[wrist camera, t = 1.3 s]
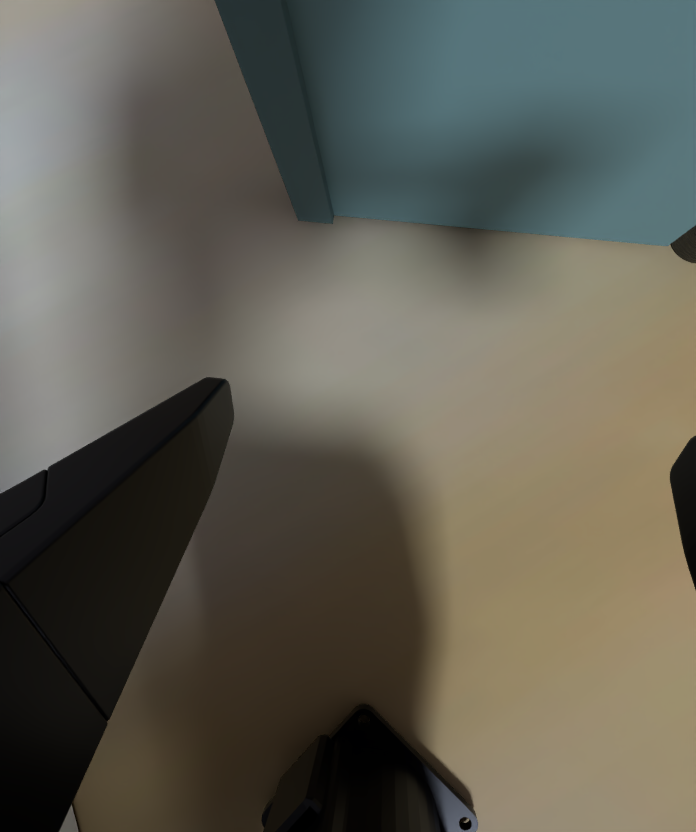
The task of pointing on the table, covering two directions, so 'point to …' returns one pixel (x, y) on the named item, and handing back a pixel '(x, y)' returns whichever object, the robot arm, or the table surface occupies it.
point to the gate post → (686, 245)
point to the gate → (480, 111)
